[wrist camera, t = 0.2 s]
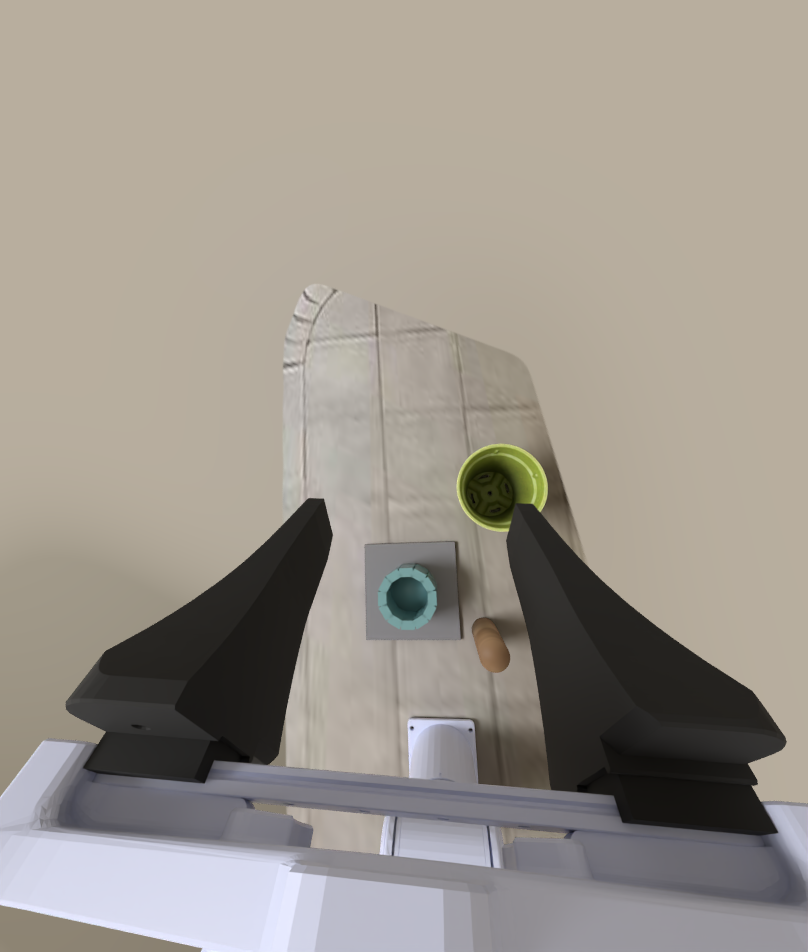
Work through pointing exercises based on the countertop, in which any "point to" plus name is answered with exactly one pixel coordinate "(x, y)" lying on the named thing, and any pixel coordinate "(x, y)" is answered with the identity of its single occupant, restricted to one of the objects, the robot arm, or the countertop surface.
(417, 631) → the grey mat
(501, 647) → the walnut peg
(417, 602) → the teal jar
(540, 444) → the countertop surface
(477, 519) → the plant pot
